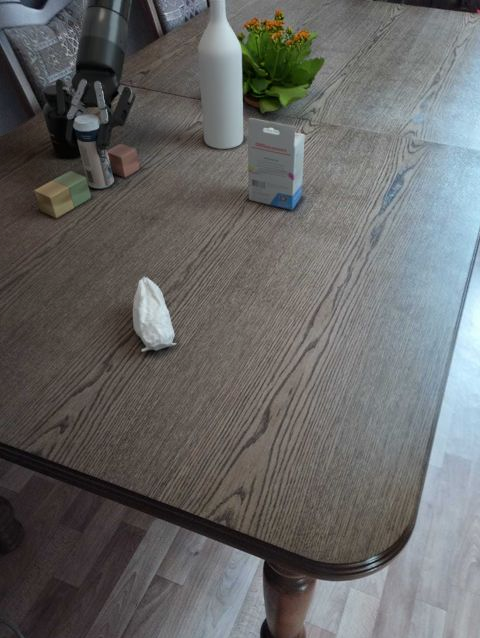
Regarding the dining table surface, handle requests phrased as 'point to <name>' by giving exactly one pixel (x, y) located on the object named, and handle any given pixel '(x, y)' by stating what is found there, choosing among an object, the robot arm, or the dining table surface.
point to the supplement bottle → (57, 125)
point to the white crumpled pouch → (152, 316)
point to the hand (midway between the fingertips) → (86, 146)
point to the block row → (82, 183)
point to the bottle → (221, 81)
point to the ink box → (275, 163)
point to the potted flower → (276, 63)
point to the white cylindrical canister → (92, 151)
